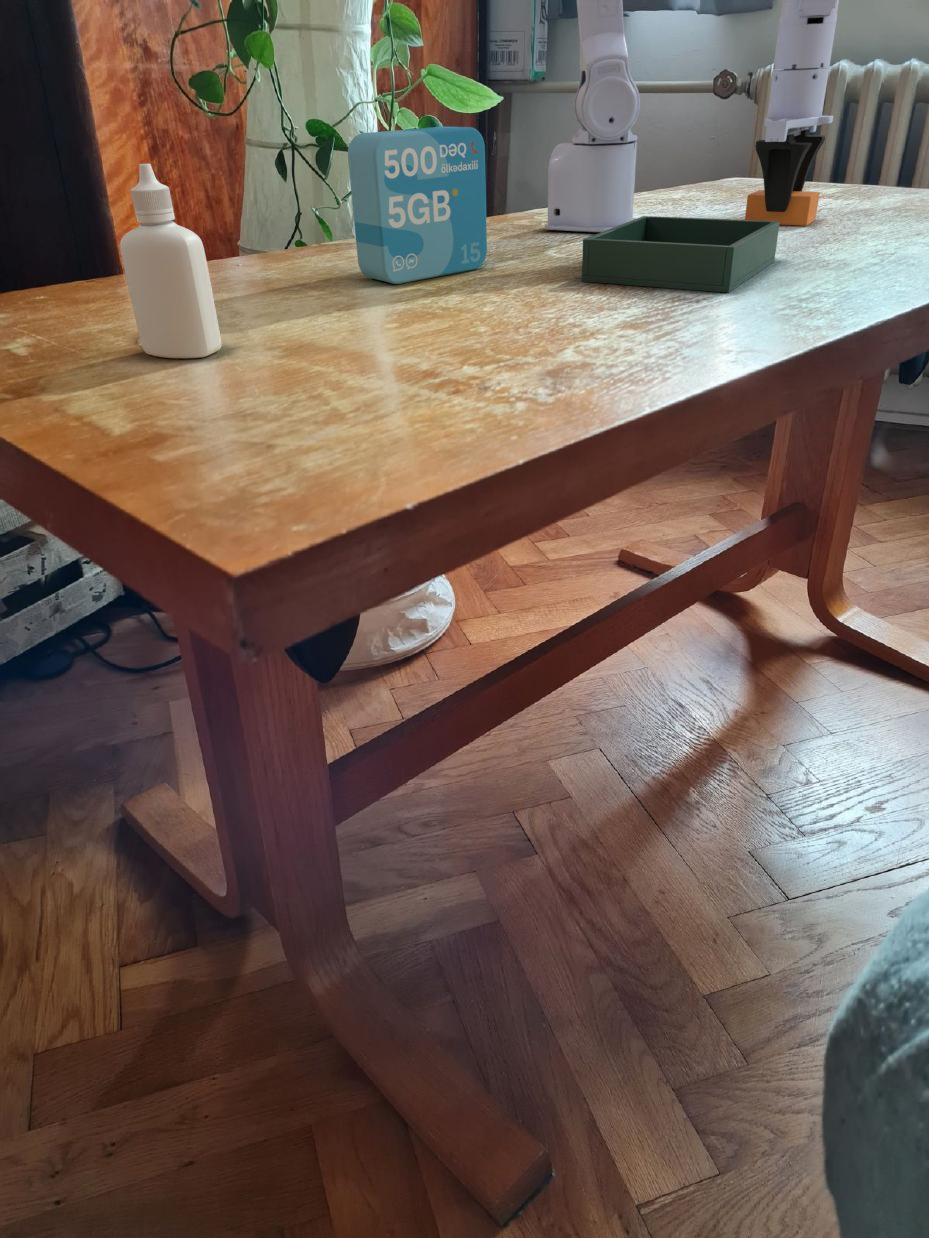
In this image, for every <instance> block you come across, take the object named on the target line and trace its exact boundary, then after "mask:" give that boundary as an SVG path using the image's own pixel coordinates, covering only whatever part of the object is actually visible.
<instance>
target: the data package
mask: <svg viewBox="0 0 929 1238" xmlns="http://www.w3.org/2000/svg"><path fill="white" fill-rule="evenodd" d="M485 146H486V145H485V141H484V137H483V136H482V134H481V132H480V131H479V130H478V129H477V128H475V127H471V126H470V127H469V126H433V127H420V128H410V129H397V130H386V131H385V130H384V131H374V132H362V133H359V134H356V135H355V136H354V137H353V138H352V139H351V141H350V142H349V145H348V149H347V162H348V173H349V182H350V193H351V203H352V212H353V213H352V214H353V215H352V216H353V223H354V234H355V245H356V256H357V264H358V268H359V270H360V272H361V273H362V274H363V275H364V276H365V277H367V278H369V279H374V280H377V281H380V282H381V281H382V282H385V283H390V284H393V285H401V284H407V283H412V282H416V281H422V280H427V279H431V278H432V279H433V278H438V277H443V276H448V275H454V274H458V273H465V272H469V271H474V270H478V268H480V267H481V266H482V265H483V264H484V262H485V261H486V258H487V255H488V232H487V231H488V230H487V191H486V190H487V189H486V188H487V187H486V184H487V183H486V149H485V148H486V147H485Z"/></svg>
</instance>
